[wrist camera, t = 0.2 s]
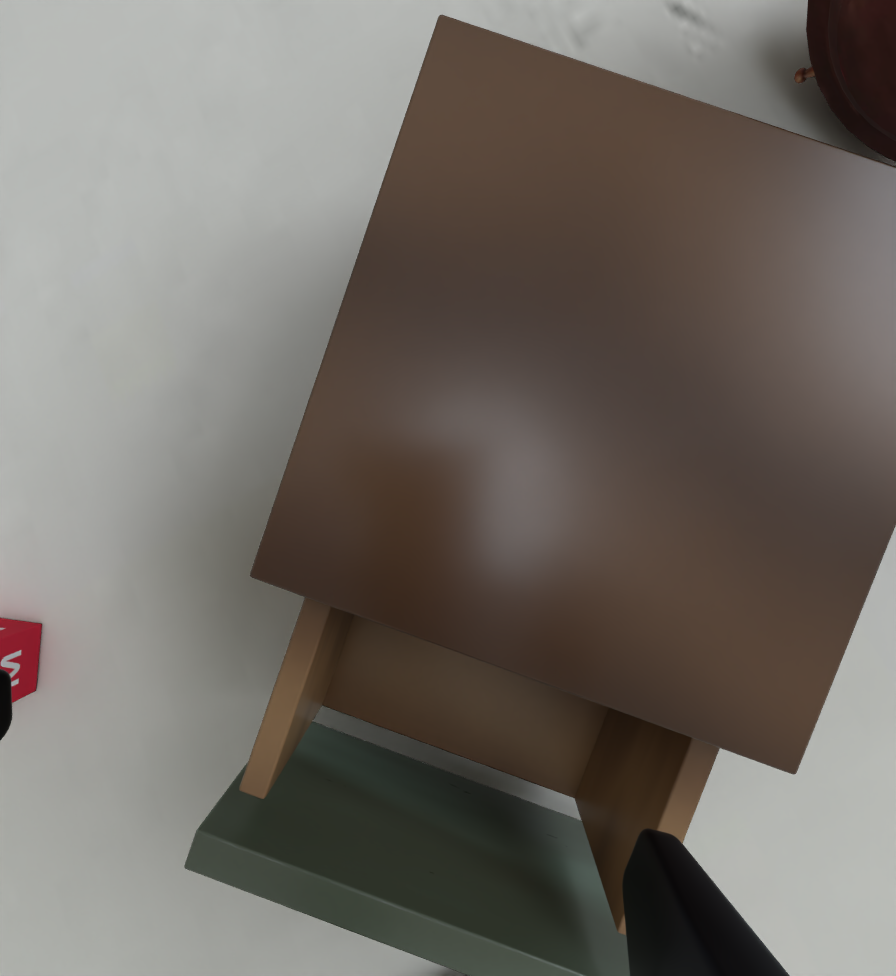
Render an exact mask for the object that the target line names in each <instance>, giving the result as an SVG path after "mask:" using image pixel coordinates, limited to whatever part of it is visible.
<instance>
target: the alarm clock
mask: <svg viewBox="0 0 896 976" xmlns="http://www.w3.org/2000/svg"><path fill="white" fill-rule="evenodd" d="M806 31H807V40H808V48H809V57H810V61H811V65H812V67H810V68H808V69H805V68H800V69H799V70H798V71H797V72H796V73H795V77H794V79H795V81H796V82H797V83H803V82H804V81H805V80H806V79H807V78H810V77H816V80H817V84H818V86H819V88H820V90H821V92H822V94H823V95H824V97H825V99H826V101H827V103H828V105H829V107H830V108H831V110H832V111H833V112H834V113H835V115H836V116H837V117H838V118H839V119H840V121H841V122H842V123H843V124H844V126H845V127H846V128H847V129H848V130H849V131H850V132H851V133H853V134H854V135H855V136H856V137H857V138H859V139H860V140H861V141H862V142H863V143H865V144H866V145H867V146H868V147H870V148H872V149H873V150H875V151H877V152H878V153H880V154H882V155H883V156H885V157H887V158H889V159H891V160H894V161H896V0H808V11H807V27H806Z"/></svg>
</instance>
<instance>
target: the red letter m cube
mask: <svg viewBox="0 0 896 976" xmlns="http://www.w3.org/2000/svg"><path fill="white" fill-rule="evenodd" d="M41 628H42V624H40V623H32V622H25V621H18V620H10V619H3V618H0V669H3V670H5V671H7V672H8V673H9V675H10V676H11V686H12V703H13V702H15V701H17V700H18V699H20V698H22V697H24V696H26V695H28V694H30V693H32V692H34V691H36V684H37V672H38V661H39V650H40V639H41Z"/></svg>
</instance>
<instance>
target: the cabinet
mask: <svg viewBox="0 0 896 976" xmlns="http://www.w3.org/2000/svg"><path fill="white" fill-rule="evenodd" d="M895 525H896V167H895V166H892V165H889V164H886V163H883V162H880V161H877V160H874V159H871V158H868V157H865V156H862V155H859V154H856V153H853V152H850V151H847V150H844V149H841V148H838V147H835V146H832V145H829V144H826V143H823V142H820V141H817V140H814V139H811V138H808V137H805V136H802V135H799V134H796V133H793V132H790V131H787V130H784V129H781V128H778V127H775V126H772V125H769V124H766V123H763V122H760V121H757V120H754V119H752V118H749V117H746V116H743V115H740V114H737V113H734V112H731V111H728V110H725V109H722V108H719V107H716V106H713V105H710V104H707V103H704V102H701V101H698V100H695V99H692V98H689V97H686V96H683V95H680V94H677V93H674V92H671V91H668V90H665V89H662V88H659V87H656V86H653V85H650V84H647V83H644V82H641V81H638V80H635V79H632V78H629V77H626V76H623V75H620V74H617V73H614V72H611V71H608V70H605V69H602V68H599V67H596V66H593V65H590V64H587V63H584V62H582V61H579V60H576V59H573V58H570V57H567V56H564V55H561V54H558V53H555V52H552V51H549V50H546V49H543V48H540V47H537V46H534V45H531V44H528V43H525V42H522V41H519V40H516V39H513V38H510V37H507V36H504V35H501V34H498V33H495V32H492V31H489V30H486V29H483V28H480V27H477V26H474V25H471V24H468V23H465V22H462V21H459V20H456V19H453V18H450V17H447V16H444V15H440V16H439V17H438V20H437V23H436V26H435V29H434V32H433V35H432V38H431V40H430V43H429V46H428V49H427V52H426V55H425V58H424V61H423V64H422V67H421V70H420V73H419V76H418V79H417V82H416V85H415V88H414V91H413V94H412V97H411V100H410V103H409V105H408V108H407V111H406V114H405V117H404V120H403V123H402V126H401V129H400V132H399V135H398V138H397V141H396V144H395V147H394V150H393V153H392V156H391V159H390V162H389V165H388V168H387V170H386V173H385V176H384V179H383V182H382V185H381V188H380V191H379V194H378V197H377V200H376V203H375V206H374V209H373V212H372V215H371V218H370V221H369V224H368V227H367V230H366V233H365V235H364V238H363V241H362V244H361V247H360V250H359V253H358V256H357V259H356V262H355V265H354V268H353V271H352V274H351V277H350V280H349V283H348V286H347V289H346V292H345V295H344V298H343V300H342V303H341V306H340V309H339V312H338V315H337V318H336V321H335V324H334V327H333V330H332V333H331V336H330V339H329V342H328V345H327V348H326V351H325V354H324V357H323V360H322V363H321V365H320V368H319V371H318V374H317V377H316V380H315V383H314V386H313V389H312V392H311V395H310V398H309V401H308V404H307V407H306V410H305V413H304V416H303V419H302V422H301V425H300V427H299V430H298V433H297V436H296V439H295V442H294V445H293V448H292V451H291V454H290V457H289V460H288V463H287V466H286V469H285V472H284V475H283V478H282V481H281V484H280V487H279V490H278V492H277V495H276V498H275V501H274V504H273V507H272V510H271V513H270V516H269V519H268V522H267V525H266V528H265V531H264V534H263V537H262V540H261V543H260V546H259V549H258V552H257V555H256V557H255V560H254V563H253V566H252V569H251V572H250V577H252V578H254V579H257V580H260V581H262V582H265V583H268V584H271V585H273V586H276V587H279V588H282V589H284V590H287V591H290V592H293V593H295V594H298V595H301V596H304V597H306V598H309V599H312V600H315V601H317V602H320V603H323V604H326V605H328V606H331V607H334V608H337V609H339V610H342V611H345V612H348V613H350V614H353V615H356V616H359V617H361V618H364V619H367V620H370V621H372V622H375V623H378V624H381V625H383V626H386V627H389V628H392V629H394V630H397V631H400V632H403V633H405V634H408V635H411V636H414V637H416V638H419V639H422V640H425V641H427V642H430V643H433V644H436V645H438V646H441V647H444V648H447V649H449V650H452V651H455V652H458V653H460V654H463V655H466V656H469V657H471V658H474V659H477V660H480V661H482V662H485V663H488V664H491V665H493V666H496V667H499V668H502V669H504V670H507V671H510V672H513V673H515V674H518V675H521V676H524V677H526V678H529V679H532V680H535V681H537V682H540V683H543V684H546V685H548V686H551V687H554V688H557V689H559V690H562V691H565V692H568V693H570V694H573V695H576V696H579V697H581V698H584V699H587V700H590V701H592V702H595V703H598V704H601V705H603V706H606V707H609V708H612V709H614V710H617V711H620V712H623V713H625V714H628V715H631V716H634V717H636V718H639V719H642V720H645V721H647V722H650V723H653V724H656V725H658V726H661V727H664V728H667V729H669V730H672V731H675V732H678V733H680V734H683V735H686V736H689V737H691V738H694V739H697V740H700V741H702V742H705V743H708V744H711V745H713V746H716V747H719V748H722V749H725V750H727V751H730V752H733V753H736V754H738V755H741V756H744V757H747V758H749V759H752V760H755V761H758V762H760V763H763V764H766V765H769V766H771V767H774V768H777V769H780V770H782V771H785V772H788V773H791V774H796V773H797V770H798V768H799V765H800V763H801V760H802V758H803V755H804V753H805V750H806V748H807V745H808V743H809V740H810V738H811V735H812V733H813V730H814V728H815V725H816V723H817V720H818V718H819V715H820V713H821V710H822V708H823V705H824V703H825V700H826V698H827V695H828V693H829V690H830V688H831V685H832V683H833V680H834V678H835V675H836V673H837V670H838V668H839V665H840V663H841V660H842V658H843V655H844V653H845V650H846V648H847V645H848V643H849V640H850V638H851V635H852V633H853V630H854V628H855V625H856V623H857V620H858V618H859V615H860V613H861V610H862V608H863V605H864V603H865V600H866V598H867V595H868V593H869V590H870V588H871V585H872V583H873V580H874V578H875V575H876V573H877V570H878V568H879V565H880V563H881V560H882V558H883V555H884V553H885V550H886V548H887V545H888V543H889V540H890V538H891V535H892V533H893V530H894V528H895Z"/></svg>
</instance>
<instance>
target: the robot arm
mask: <svg viewBox="0 0 896 976" xmlns="http://www.w3.org/2000/svg"><path fill="white" fill-rule="evenodd" d="M11 721H12V686H11V676H10V675H9V673H8V672H7V671H5V670H3V669H0V740H1V739H2V738H3V737H4V735H5V734H6V732H7V731H8V729H9V727H10V724H11ZM622 892H623V904H624V915H625V926H626V937H627V948H628V959H629V971H630V976H789V974H788V973H787V972H786V971H785V969H784V968H783V967H782V966H781V965H780V963H779V962H778V961H777V960H776V958H775V957H774V956H773V955H772V953H771V952H770V951H769V950H768V949H767V947H766V946H765V945H764V944H763V942H762V941H761V940H760V939H759V937H758V936H757V935H756V934H755V933H754V931H753V930H752V929H751V928H750V926H749V925H748V924H747V923H746V921H745V920H744V919H743V918H742V917H741V915H740V914H739V913H738V912H737V910H736V909H735V908H734V907H733V905H732V904H731V903H730V902H729V901H728V899H727V898H726V897H725V896H724V894H723V893H722V892H721V891H720V889H719V888H718V887H717V886H716V885H715V883H714V882H713V881H712V880H711V878H710V877H709V876H708V875H707V874H706V872H705V871H704V870H703V869H702V867H701V866H700V865H699V864H698V862H697V861H696V860H695V859H694V858H693V856H692V855H691V854H690V853H689V851H688V850H687V849H686V848H685V846H684V845H683V844H682V843H681V842H680V840H679V839H678V838H677V837H675V836H674V835H672V834H670V833H666V832H662V831H658V830H654V829H649V828H646V829H643V830H642V831H641V832H640V834H639V836H638V838H637V841H636V843H635V846H634V848H633V851H632V853H631V856H630V858H629V861H628V863H627V866H626V868H625V871H624V875H623V883H622Z"/></svg>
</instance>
